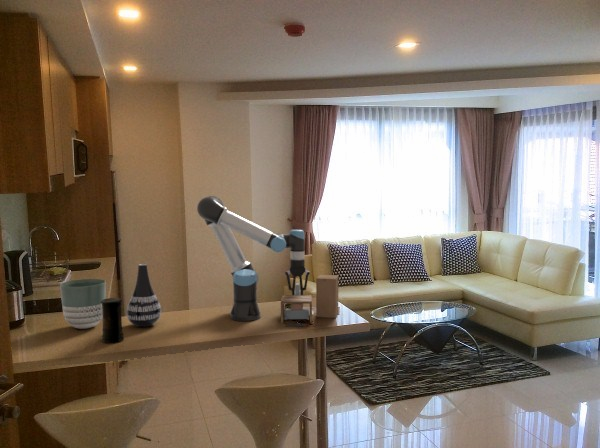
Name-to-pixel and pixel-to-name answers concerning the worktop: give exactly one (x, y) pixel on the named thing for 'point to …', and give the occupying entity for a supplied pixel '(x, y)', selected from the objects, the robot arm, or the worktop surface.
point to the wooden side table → (296, 302)
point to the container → (112, 320)
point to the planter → (83, 302)
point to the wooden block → (327, 296)
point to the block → (296, 306)
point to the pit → (296, 325)
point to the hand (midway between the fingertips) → (297, 302)
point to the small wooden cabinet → (297, 313)
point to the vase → (143, 301)
